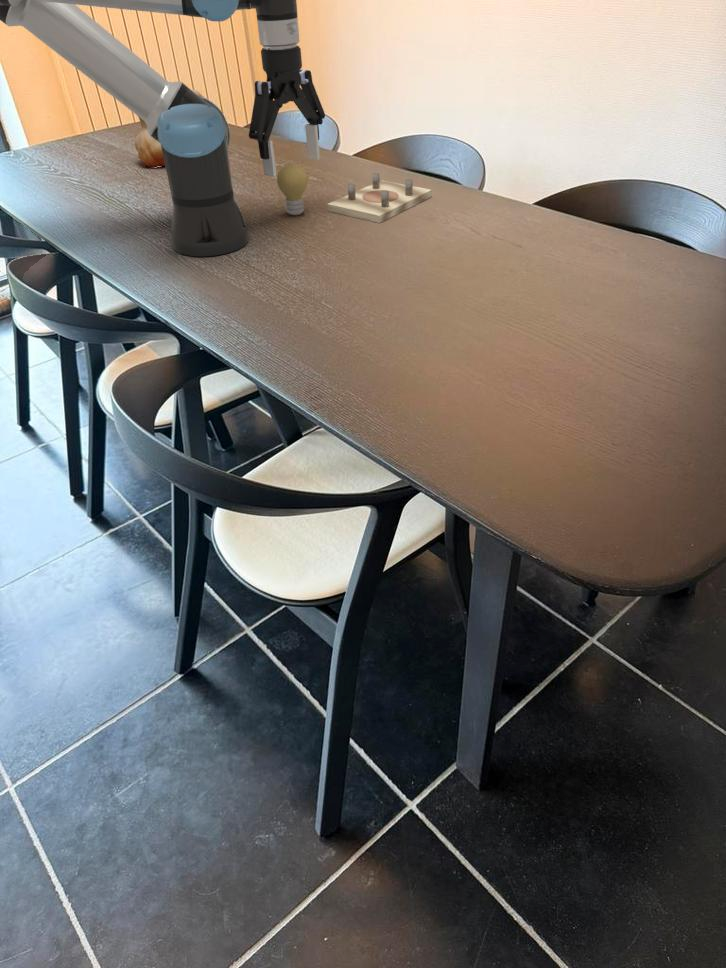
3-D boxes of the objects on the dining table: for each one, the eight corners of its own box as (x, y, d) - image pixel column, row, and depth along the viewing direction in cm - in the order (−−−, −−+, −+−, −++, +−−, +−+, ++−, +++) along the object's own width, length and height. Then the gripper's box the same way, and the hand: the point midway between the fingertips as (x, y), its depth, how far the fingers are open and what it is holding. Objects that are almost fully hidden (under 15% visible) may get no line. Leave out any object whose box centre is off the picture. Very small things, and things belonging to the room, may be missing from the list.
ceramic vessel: (231, 148, 189) (222, 87, 180) (165, 172, 173) (151, 107, 163) (195, 142, 195) (184, 83, 186) (127, 166, 179) (112, 102, 169)
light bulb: (312, 208, 148) (308, 160, 141) (307, 218, 143) (303, 168, 136) (283, 208, 148) (278, 160, 142) (278, 218, 143) (272, 168, 137)
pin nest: (379, 223, 139) (379, 200, 137) (327, 211, 146) (326, 189, 143) (431, 196, 151) (432, 175, 148) (381, 186, 158) (381, 166, 155)
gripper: (247, 57, 116) (264, 185, 130) (337, 37, 131) (344, 154, 145) (217, 55, 120) (237, 180, 134) (308, 35, 135) (317, 149, 149)
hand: (292, 166), depth 139 cm, fingers open, 13 cm apart
